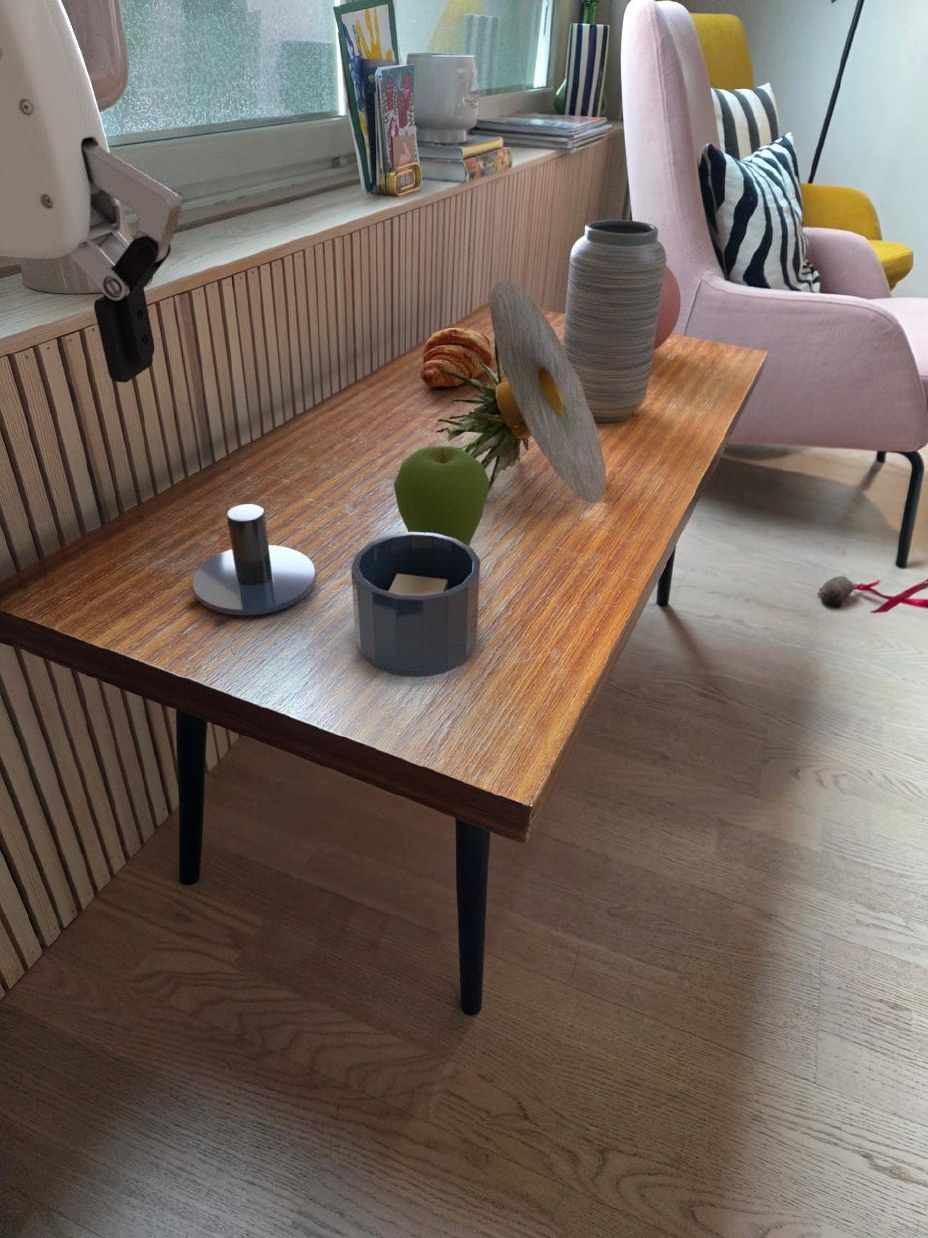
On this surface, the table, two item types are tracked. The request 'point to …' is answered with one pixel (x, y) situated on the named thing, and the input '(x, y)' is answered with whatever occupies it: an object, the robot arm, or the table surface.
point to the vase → (614, 314)
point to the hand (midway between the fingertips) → (46, 364)
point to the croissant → (454, 356)
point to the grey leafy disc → (531, 399)
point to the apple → (442, 492)
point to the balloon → (667, 309)
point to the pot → (416, 604)
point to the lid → (252, 570)
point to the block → (417, 585)
